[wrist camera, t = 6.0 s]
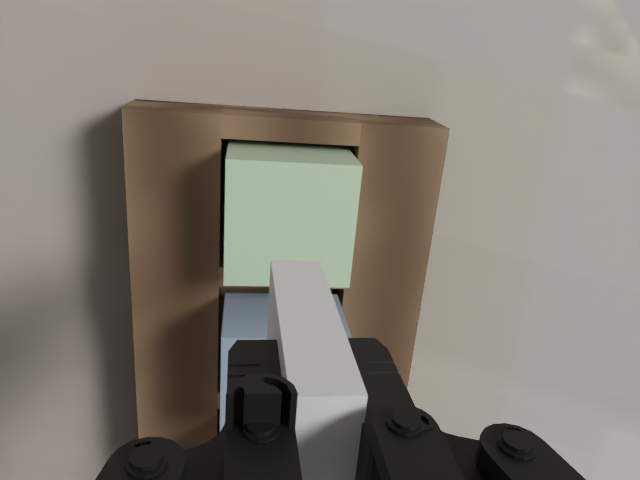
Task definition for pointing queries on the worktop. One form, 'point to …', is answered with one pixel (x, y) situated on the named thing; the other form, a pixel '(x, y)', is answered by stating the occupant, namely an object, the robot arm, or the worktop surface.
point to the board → (208, 241)
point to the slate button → (248, 329)
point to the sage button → (289, 209)
